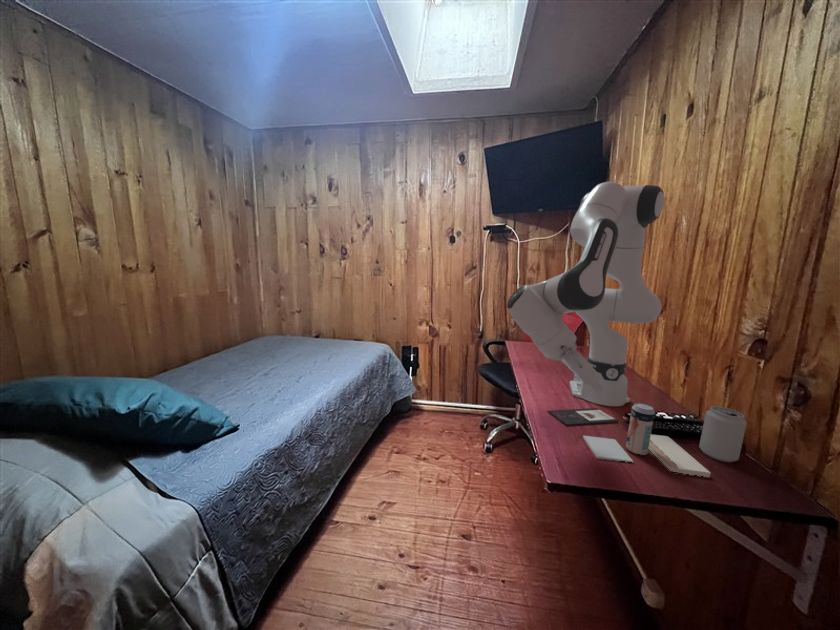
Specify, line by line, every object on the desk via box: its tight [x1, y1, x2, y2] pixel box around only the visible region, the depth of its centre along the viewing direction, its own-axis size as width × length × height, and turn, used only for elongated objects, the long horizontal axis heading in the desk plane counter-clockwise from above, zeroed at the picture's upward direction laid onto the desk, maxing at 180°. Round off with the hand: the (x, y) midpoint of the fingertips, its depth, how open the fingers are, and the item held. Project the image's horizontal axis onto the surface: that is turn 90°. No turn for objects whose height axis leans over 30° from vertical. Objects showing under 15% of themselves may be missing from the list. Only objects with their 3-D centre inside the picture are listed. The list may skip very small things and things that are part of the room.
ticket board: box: [648, 433, 711, 478], centre depth 81 cm, size 16×8×1 cm, turn 171°
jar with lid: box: [625, 402, 656, 456], centre depth 82 cm, size 5×5×12 cm
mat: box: [582, 435, 634, 464], centre depth 83 cm, size 10×8×1 cm
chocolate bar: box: [546, 407, 619, 427], centre depth 100 cm, size 9×1×18 cm
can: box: [698, 405, 747, 463], centre depth 82 cm, size 8×8×12 cm
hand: (593, 383), depth 82 cm, fingers open, 8 cm apart
